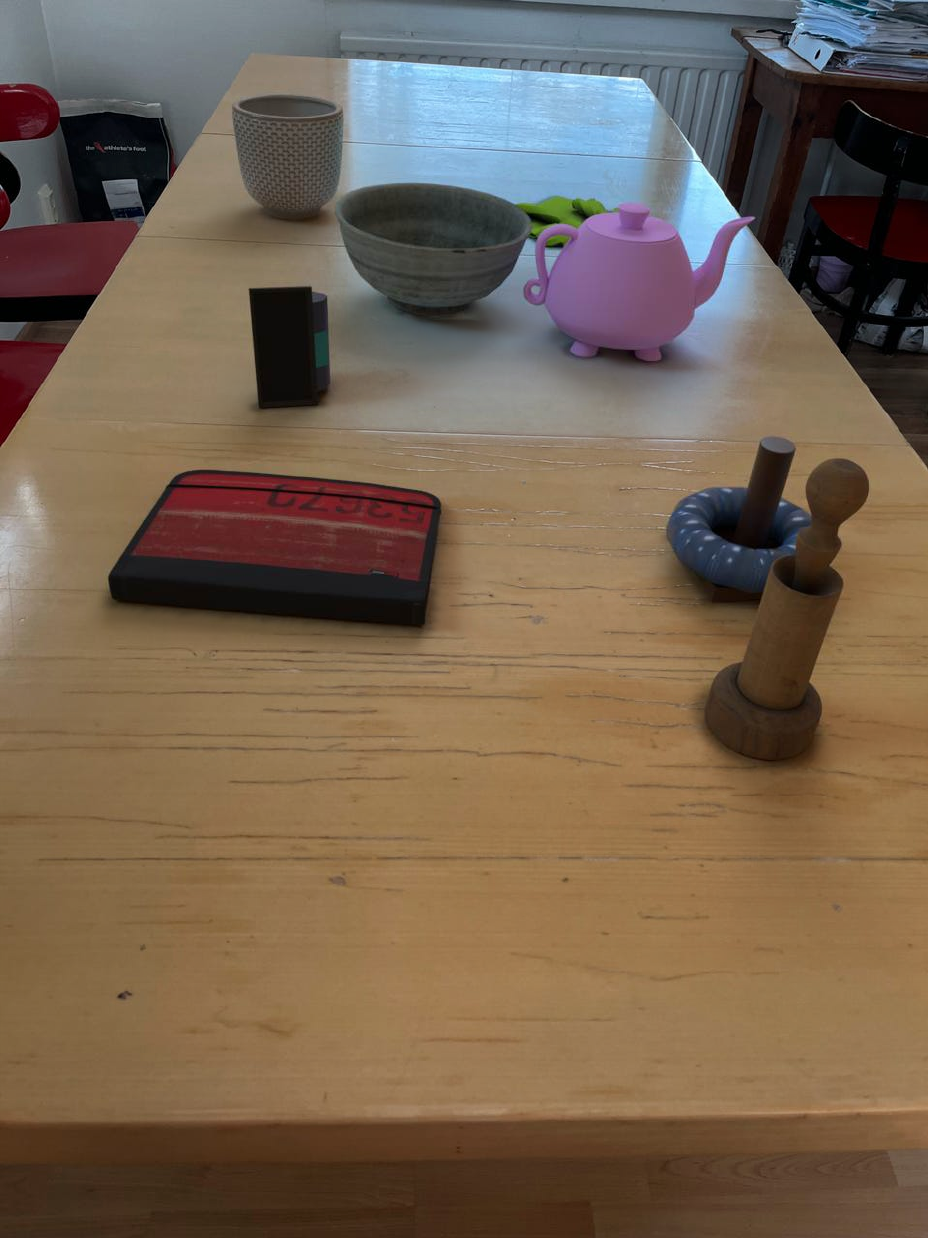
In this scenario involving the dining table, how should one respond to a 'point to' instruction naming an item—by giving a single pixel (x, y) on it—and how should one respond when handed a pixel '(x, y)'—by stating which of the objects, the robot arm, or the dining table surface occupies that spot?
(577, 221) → the cloth
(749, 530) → the stand
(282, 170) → the planter
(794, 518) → the blue ring
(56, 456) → the dining table surface
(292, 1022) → the dining table surface
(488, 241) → the bowl
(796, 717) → the mortar and pestle
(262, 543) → the ink pad
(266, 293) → the speaker
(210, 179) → the dining table surface
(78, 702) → the dining table surface
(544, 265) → the teapot
